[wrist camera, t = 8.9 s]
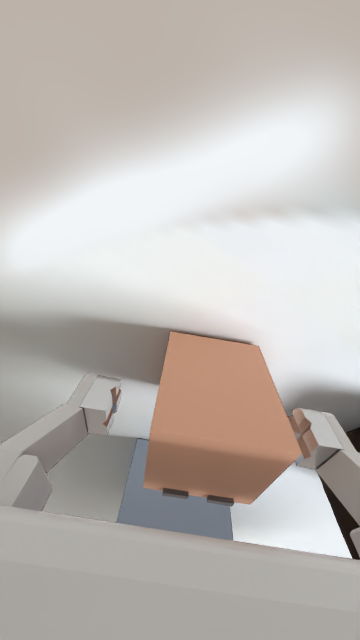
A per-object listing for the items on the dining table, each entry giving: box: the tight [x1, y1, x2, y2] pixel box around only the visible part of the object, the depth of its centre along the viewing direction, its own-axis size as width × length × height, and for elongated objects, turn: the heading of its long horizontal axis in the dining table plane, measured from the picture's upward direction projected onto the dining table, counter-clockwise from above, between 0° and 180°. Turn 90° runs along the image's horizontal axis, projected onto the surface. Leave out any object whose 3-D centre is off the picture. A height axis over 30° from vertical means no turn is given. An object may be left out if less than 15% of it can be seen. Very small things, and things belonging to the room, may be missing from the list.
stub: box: [143, 331, 302, 506], centre depth 9 cm, size 4×4×5 cm
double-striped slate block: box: [117, 439, 233, 541], centre depth 17 cm, size 7×12×5 cm, turn 172°
